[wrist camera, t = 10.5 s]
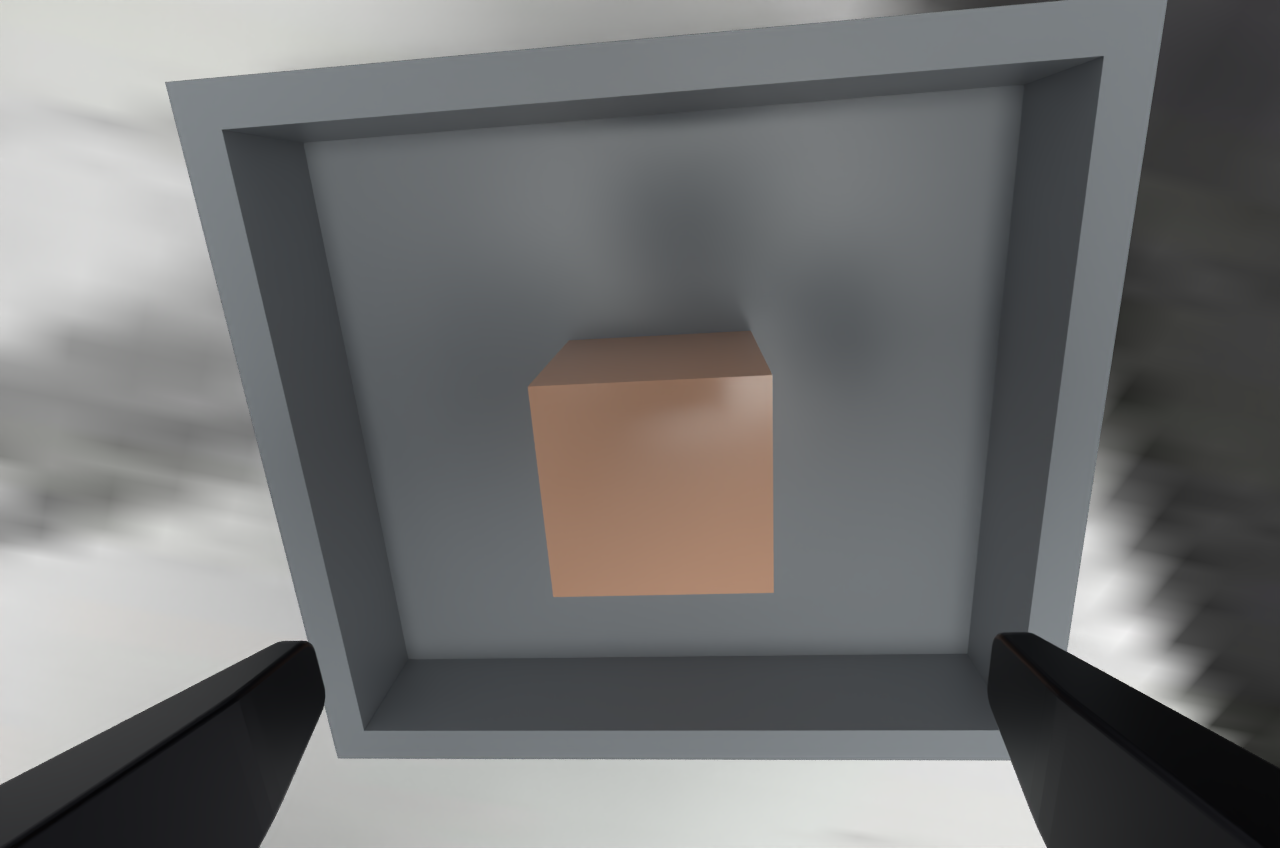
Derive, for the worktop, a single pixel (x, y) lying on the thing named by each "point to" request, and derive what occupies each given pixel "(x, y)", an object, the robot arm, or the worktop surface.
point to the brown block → (656, 465)
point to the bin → (671, 305)
